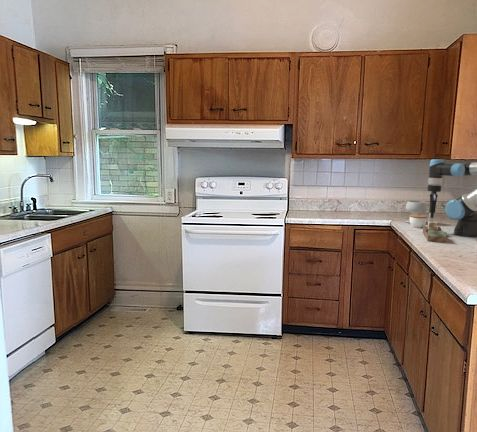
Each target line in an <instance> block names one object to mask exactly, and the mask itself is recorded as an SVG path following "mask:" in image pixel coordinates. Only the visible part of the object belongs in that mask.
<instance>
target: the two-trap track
mask: <svg viewBox="0 0 477 432" xmlns="http://www.w3.org/2000/svg"><path fill="white" fill-rule="evenodd" d="M422 234H423V235H424V237H425V239H426V241H427V242H431V243H432V242H434V243H444V242H445V243H446V240H447V231H444V230H442V228H441V226H438V225H437V231H435V230H428V226H426V224H425V225H423V227H422Z"/></svg>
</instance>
